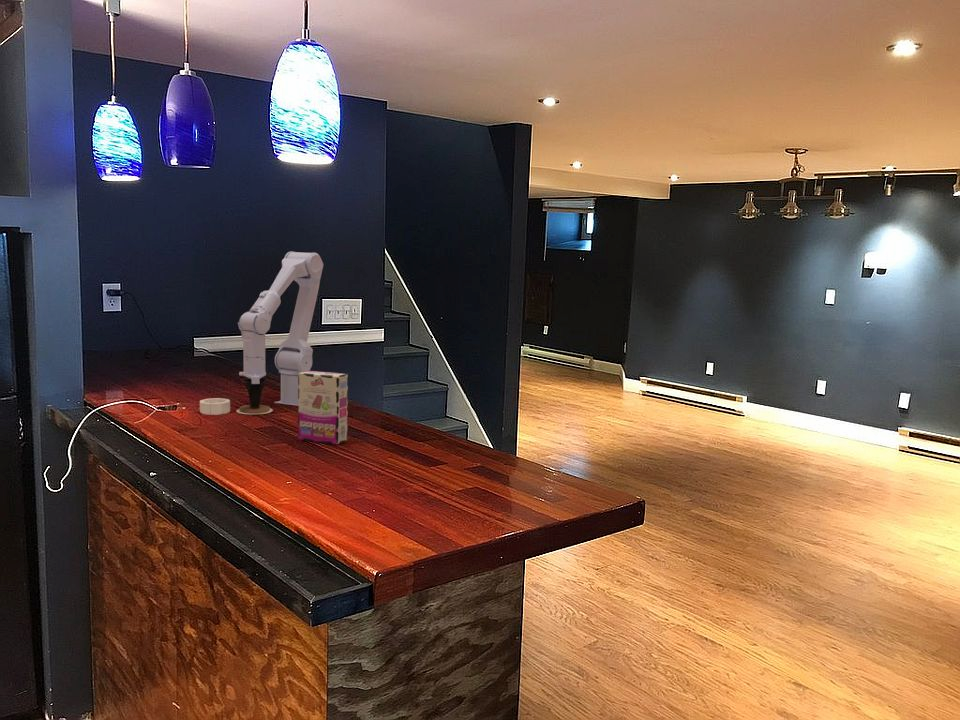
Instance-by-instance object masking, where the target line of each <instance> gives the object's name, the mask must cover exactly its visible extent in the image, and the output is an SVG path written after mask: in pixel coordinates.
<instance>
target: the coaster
mask: <svg viewBox="0 0 960 720" xmlns="http://www.w3.org/2000/svg"><path fill="white" fill-rule="evenodd" d="M273 411H274V410H273V408H271V407H270V411H268V412H265V413H256V414H255V415H264V414H270V413H271V412H273ZM236 413H238V414H244V415H251V414H250V413H242V412H240V411H239V408H238V409H236Z"/></svg>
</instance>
